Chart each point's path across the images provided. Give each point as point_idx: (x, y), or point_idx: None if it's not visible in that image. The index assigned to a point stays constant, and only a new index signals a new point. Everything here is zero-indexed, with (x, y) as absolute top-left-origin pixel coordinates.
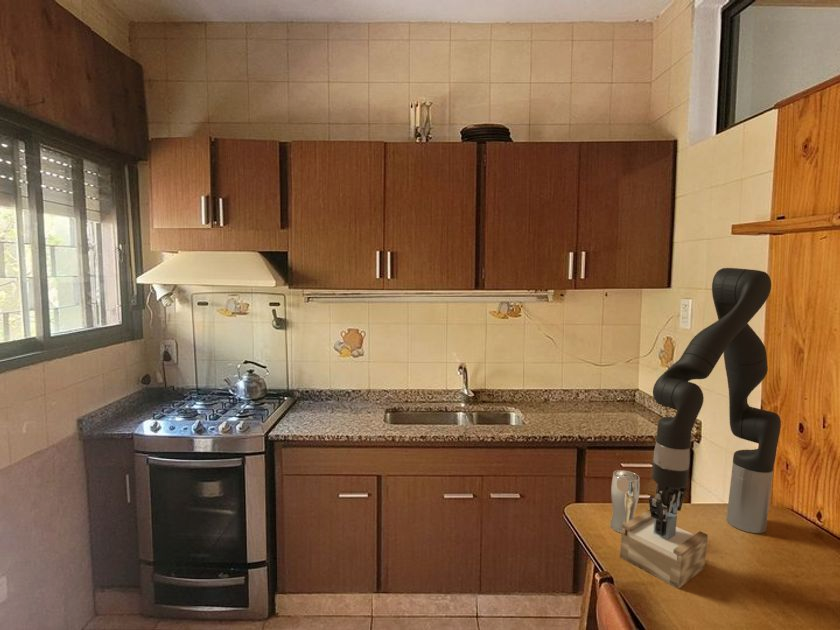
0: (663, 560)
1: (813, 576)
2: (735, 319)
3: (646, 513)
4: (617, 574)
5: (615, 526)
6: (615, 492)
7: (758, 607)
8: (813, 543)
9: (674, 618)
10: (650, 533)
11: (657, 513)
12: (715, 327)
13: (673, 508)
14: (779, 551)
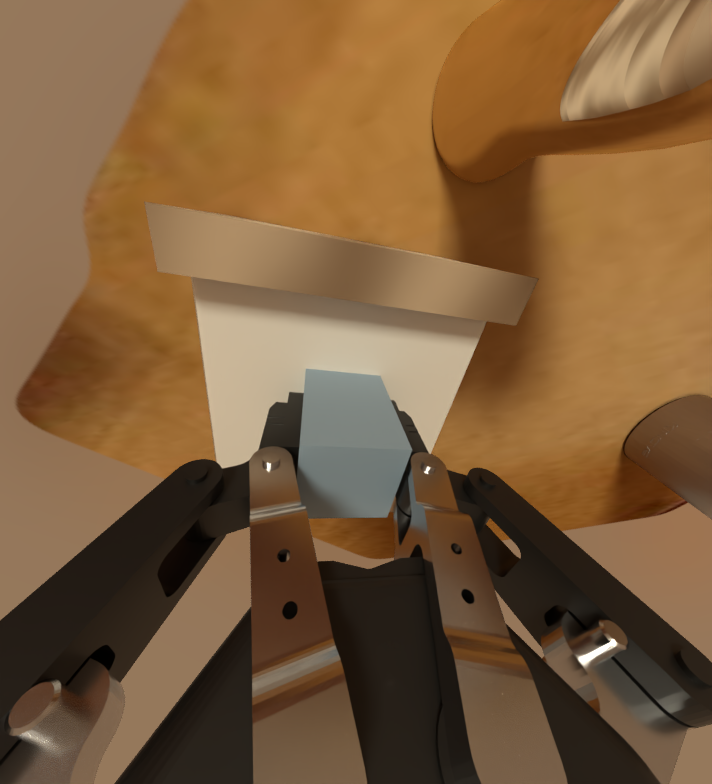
0: None
1: (493, 529)
2: None
3: (465, 283)
4: (107, 261)
5: (449, 69)
6: None
7: None
8: (615, 508)
9: (113, 449)
10: (289, 360)
11: (236, 503)
12: None
13: (398, 542)
14: (559, 489)
